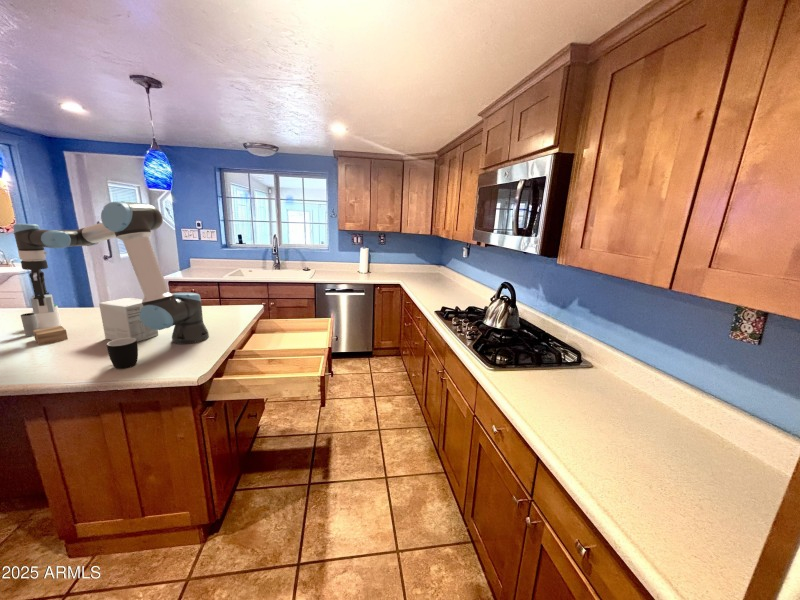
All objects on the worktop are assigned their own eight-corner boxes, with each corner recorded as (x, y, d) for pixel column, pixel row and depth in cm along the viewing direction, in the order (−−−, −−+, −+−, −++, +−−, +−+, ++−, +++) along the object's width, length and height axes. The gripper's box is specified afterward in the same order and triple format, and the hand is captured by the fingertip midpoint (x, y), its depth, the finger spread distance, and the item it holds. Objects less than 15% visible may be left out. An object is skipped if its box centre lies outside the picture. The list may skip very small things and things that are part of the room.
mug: (145, 363, 128) (141, 340, 125) (118, 372, 120) (113, 347, 117) (128, 357, 132) (125, 334, 130) (102, 365, 125) (97, 341, 122)
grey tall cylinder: (24, 335, 150) (19, 314, 148) (38, 332, 154) (34, 312, 152) (26, 337, 148) (21, 316, 145) (40, 334, 152) (36, 314, 149)
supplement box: (159, 335, 158) (154, 300, 154) (131, 344, 146) (125, 306, 141) (134, 330, 162) (128, 296, 158) (104, 339, 150) (97, 302, 146)
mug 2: (32, 331, 155) (28, 311, 152) (23, 329, 157) (18, 309, 155) (65, 325, 166) (60, 306, 163) (56, 322, 168) (51, 304, 166)
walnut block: (68, 339, 148) (65, 329, 147) (39, 345, 140) (37, 334, 139) (63, 335, 153) (61, 325, 151) (35, 340, 145) (32, 330, 144)
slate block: (53, 311, 143) (50, 297, 142) (33, 313, 139) (30, 298, 137) (54, 308, 147) (51, 294, 146) (35, 310, 143) (32, 295, 142)
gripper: (43, 262, 134) (54, 314, 139) (48, 257, 147) (58, 305, 152) (16, 263, 129) (29, 317, 134) (23, 257, 142) (34, 307, 147)
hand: (44, 310), depth 143 cm, fingers closed on slate block, 6 cm apart
